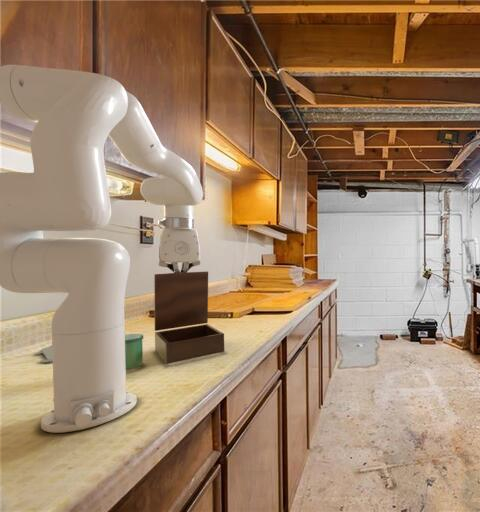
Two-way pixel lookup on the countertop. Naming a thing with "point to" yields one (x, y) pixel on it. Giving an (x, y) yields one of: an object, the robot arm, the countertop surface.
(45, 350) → the metal bracket
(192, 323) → the bin lid
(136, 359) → the pot
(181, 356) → the bin
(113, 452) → the countertop surface
